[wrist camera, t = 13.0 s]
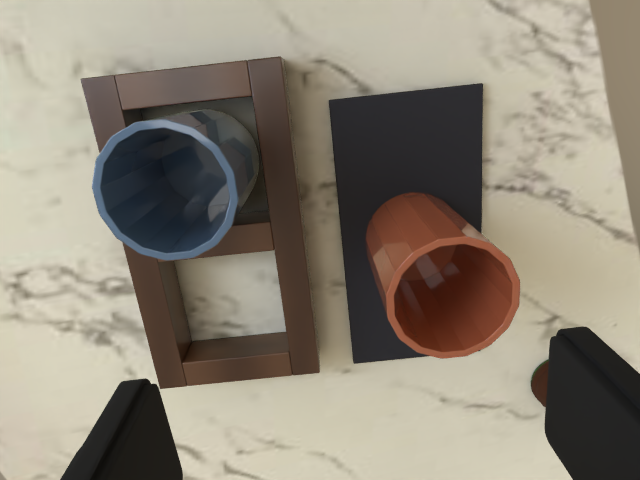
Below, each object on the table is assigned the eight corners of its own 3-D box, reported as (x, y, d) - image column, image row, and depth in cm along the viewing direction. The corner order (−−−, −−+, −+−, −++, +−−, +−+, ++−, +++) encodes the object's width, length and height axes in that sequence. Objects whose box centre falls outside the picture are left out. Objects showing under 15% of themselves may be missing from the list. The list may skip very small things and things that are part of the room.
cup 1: (149, 115, 30) (75, 128, 21) (251, 103, 30) (223, 112, 21) (170, 213, 32) (112, 266, 23) (265, 203, 32) (247, 252, 23)
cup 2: (361, 197, 32) (383, 244, 22) (459, 186, 32) (522, 230, 22) (368, 286, 34) (390, 364, 25) (459, 277, 34) (517, 351, 24)
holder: (171, 365, 36) (160, 389, 34) (102, 79, 30) (80, 78, 27) (319, 350, 36) (320, 373, 33) (283, 59, 29) (281, 56, 27)
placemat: (328, 100, 30) (328, 100, 30) (480, 83, 30) (483, 83, 30) (353, 360, 37) (353, 363, 36) (478, 347, 36) (480, 351, 36)
